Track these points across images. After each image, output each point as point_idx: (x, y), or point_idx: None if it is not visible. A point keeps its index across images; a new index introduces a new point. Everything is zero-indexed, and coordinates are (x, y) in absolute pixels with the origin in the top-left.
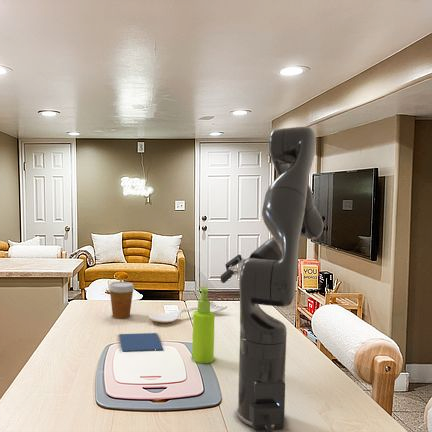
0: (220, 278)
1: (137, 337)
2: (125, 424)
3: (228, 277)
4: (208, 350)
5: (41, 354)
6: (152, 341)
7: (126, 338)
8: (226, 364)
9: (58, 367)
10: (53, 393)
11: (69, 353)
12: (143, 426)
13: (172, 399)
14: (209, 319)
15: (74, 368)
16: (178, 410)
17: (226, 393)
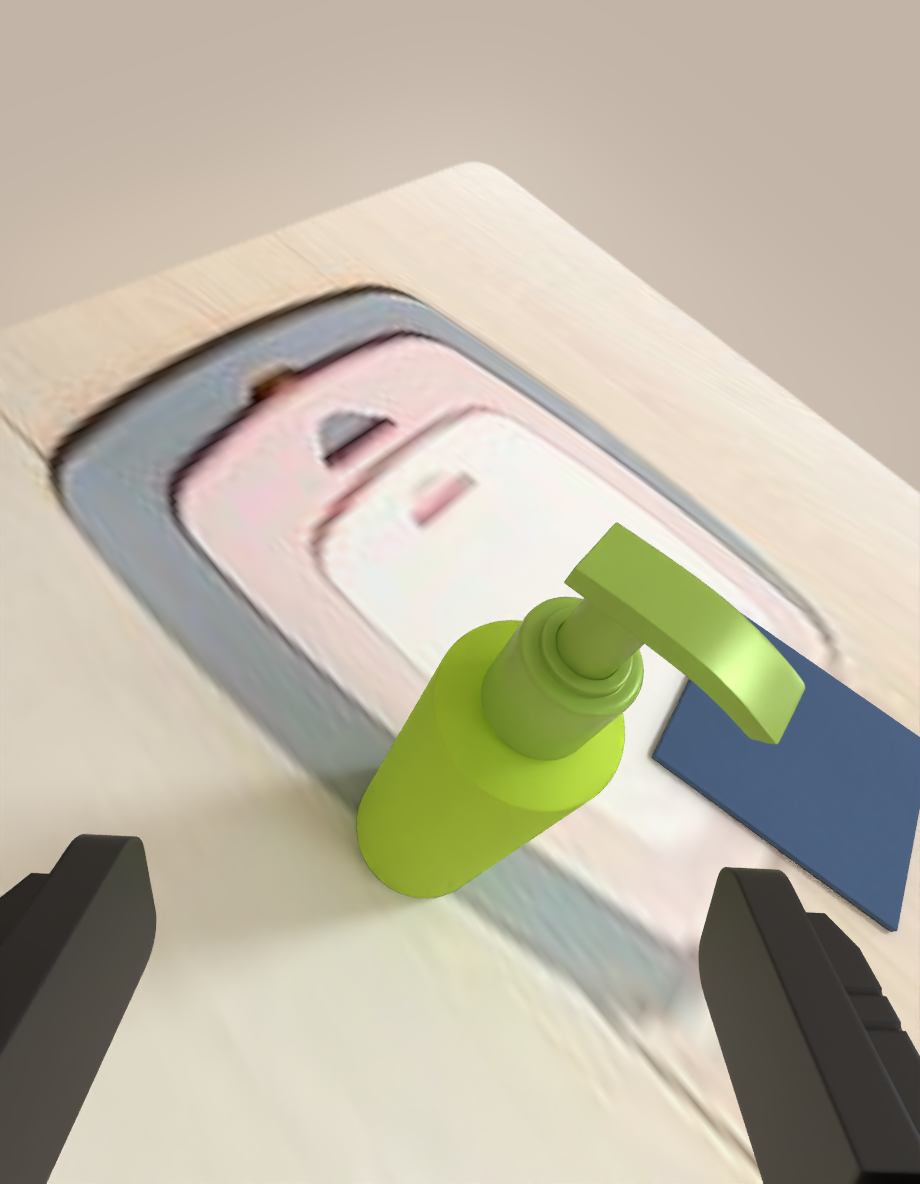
0: (765, 874)
1: (859, 779)
2: (252, 252)
3: (761, 1105)
4: (376, 774)
5: (815, 423)
6: (776, 796)
7: (862, 725)
8: (263, 875)
9: (692, 388)
10: (536, 285)
11: (790, 476)
12: (202, 262)
13: (240, 408)
14: (429, 686)
15: (661, 407)
16: (169, 363)
17: (67, 561)
